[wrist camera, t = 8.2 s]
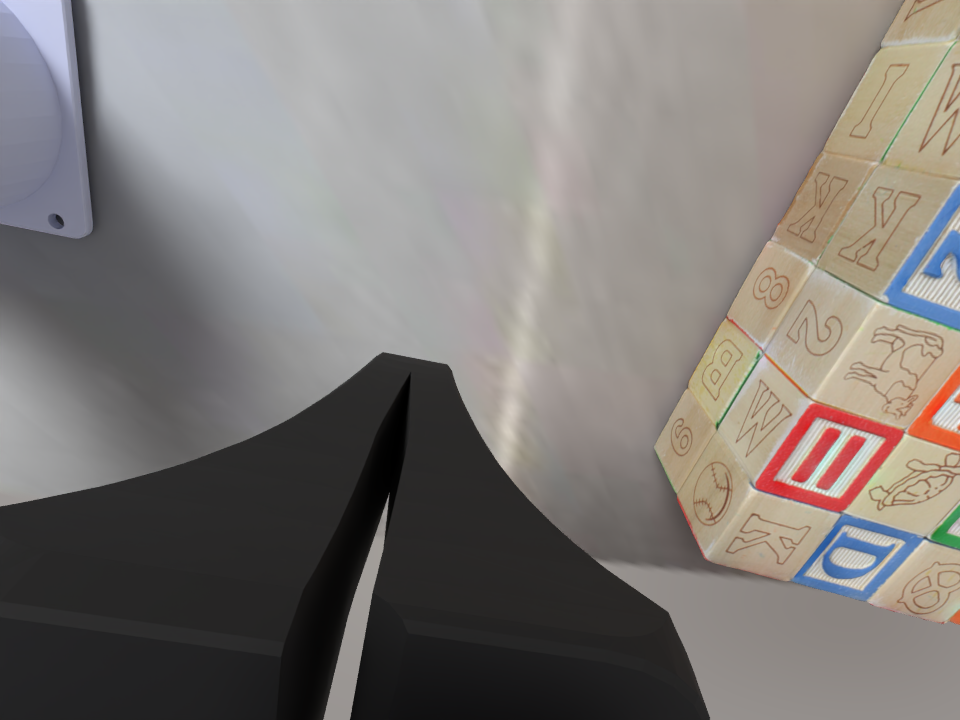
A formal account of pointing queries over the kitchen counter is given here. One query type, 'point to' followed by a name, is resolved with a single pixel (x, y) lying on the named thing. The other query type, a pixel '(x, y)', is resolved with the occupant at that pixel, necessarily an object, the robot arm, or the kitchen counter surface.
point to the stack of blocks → (846, 356)
